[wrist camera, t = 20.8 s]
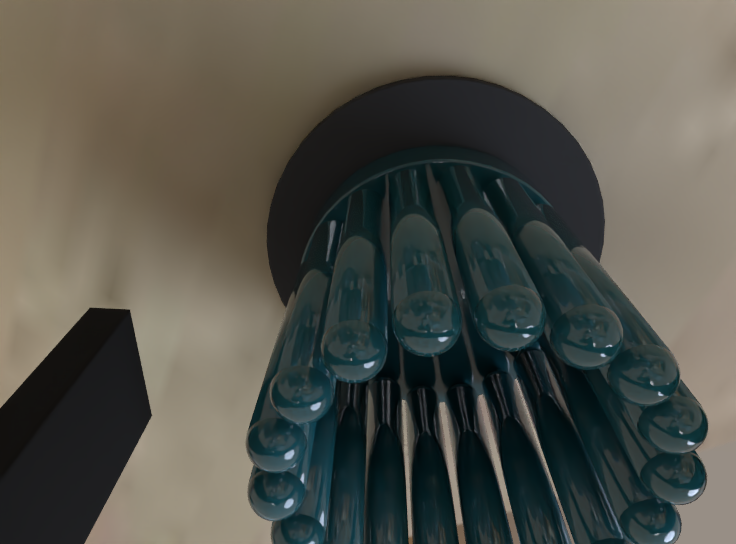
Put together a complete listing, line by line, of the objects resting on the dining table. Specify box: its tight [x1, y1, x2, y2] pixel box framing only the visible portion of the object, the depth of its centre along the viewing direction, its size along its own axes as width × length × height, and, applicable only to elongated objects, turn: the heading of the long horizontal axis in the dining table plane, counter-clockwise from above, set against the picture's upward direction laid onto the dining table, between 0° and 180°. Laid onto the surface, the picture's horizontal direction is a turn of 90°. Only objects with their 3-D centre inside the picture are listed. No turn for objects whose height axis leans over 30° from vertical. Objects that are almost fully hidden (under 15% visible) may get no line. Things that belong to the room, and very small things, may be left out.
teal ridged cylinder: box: [246, 145, 708, 544], centre depth 13 cm, size 9×8×8 cm
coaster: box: [267, 76, 605, 307], centre depth 17 cm, size 11×11×1 cm
